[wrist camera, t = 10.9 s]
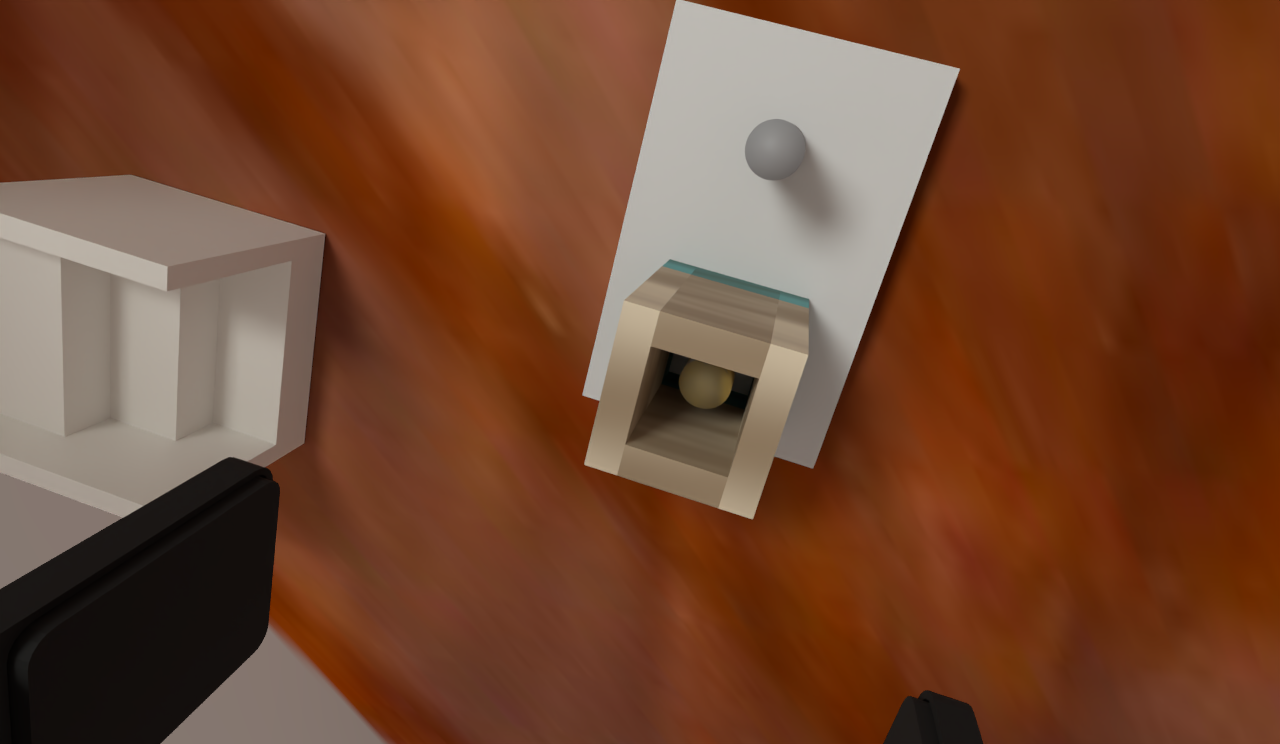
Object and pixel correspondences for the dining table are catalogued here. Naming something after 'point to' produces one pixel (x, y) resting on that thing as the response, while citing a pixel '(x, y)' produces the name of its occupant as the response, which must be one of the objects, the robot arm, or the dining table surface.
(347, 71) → the dining table surface
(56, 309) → the white stepped block
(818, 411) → the pin board
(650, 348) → the sleeve
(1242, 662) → the dining table surface
